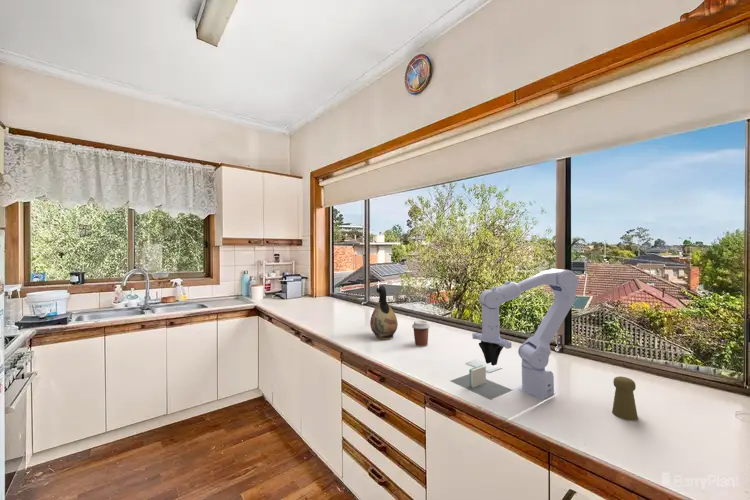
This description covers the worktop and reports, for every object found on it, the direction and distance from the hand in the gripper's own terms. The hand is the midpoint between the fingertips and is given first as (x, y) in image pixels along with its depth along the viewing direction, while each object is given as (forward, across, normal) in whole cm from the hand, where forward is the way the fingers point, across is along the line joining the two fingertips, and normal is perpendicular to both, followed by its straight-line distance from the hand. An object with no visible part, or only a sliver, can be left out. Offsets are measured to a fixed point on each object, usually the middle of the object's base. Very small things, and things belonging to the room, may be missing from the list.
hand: (491, 363), depth 110 cm
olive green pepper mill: (+10, +32, +19) cm, 39 cm away
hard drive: (+11, -16, +16) cm, 25 cm away
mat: (+10, -5, 0) cm, 11 cm away
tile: (+9, -6, 0) cm, 11 cm away
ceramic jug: (+10, -76, +7) cm, 77 cm away
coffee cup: (+10, -54, +15) cm, 57 cm away
